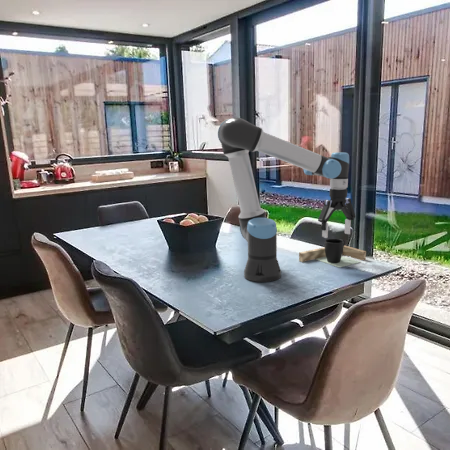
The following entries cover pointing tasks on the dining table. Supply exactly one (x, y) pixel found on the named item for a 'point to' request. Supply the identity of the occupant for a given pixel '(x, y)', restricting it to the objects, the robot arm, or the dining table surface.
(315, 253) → the tan bent bar
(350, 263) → the mat
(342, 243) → the mug
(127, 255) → the dining table surface
